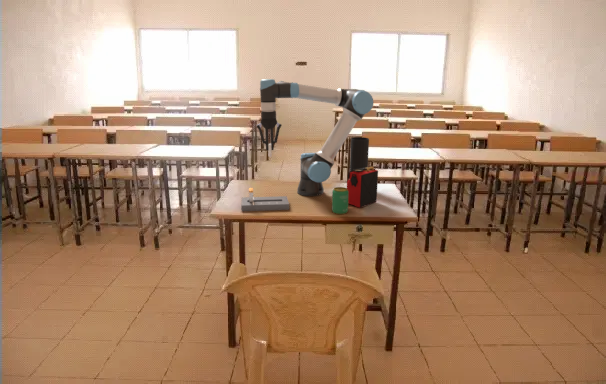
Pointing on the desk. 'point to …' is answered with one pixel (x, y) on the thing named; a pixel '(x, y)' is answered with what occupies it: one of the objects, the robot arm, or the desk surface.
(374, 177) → the radio
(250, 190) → the fader
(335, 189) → the beverage can
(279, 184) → the desk surface
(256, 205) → the console
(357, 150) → the vase
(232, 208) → the desk surface
